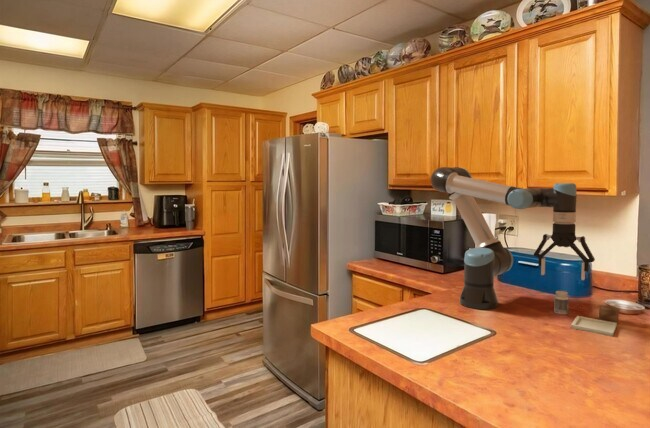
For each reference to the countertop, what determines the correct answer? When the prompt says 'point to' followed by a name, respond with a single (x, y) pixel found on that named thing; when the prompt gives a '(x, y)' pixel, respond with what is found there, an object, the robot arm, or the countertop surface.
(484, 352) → the countertop surface
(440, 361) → the countertop surface
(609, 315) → the walnut cube
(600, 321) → the tray
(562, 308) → the pill bottle
